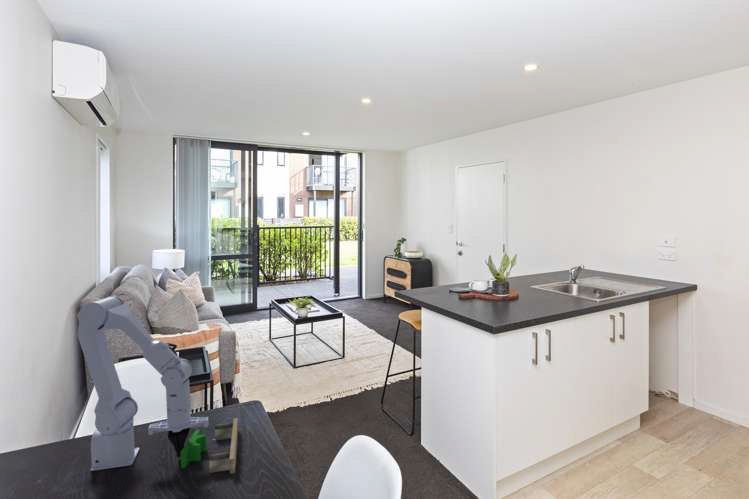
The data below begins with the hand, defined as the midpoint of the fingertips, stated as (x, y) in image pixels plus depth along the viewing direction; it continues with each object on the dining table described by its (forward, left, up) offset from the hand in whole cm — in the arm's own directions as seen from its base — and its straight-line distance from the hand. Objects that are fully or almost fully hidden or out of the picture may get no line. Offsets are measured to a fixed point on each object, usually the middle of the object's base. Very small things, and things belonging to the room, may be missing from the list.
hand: (180, 454), depth 111 cm
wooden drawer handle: (+11, 0, -1) cm, 11 cm away
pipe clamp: (+4, 0, -1) cm, 4 cm away
